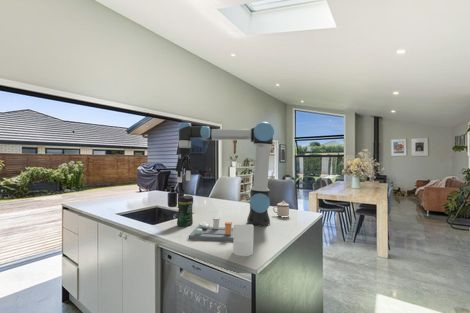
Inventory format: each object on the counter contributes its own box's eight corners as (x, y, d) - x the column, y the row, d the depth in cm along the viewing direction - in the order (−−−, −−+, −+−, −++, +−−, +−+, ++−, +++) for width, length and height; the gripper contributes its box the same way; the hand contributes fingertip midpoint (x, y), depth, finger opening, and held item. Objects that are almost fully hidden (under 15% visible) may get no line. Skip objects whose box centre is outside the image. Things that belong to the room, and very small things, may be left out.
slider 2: (231, 233, 127) (232, 222, 127) (231, 234, 123) (231, 223, 124) (225, 232, 127) (225, 221, 127) (224, 234, 124) (224, 223, 124)
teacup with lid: (289, 215, 182) (289, 200, 182) (288, 218, 173) (289, 202, 174) (273, 214, 185) (273, 199, 186) (272, 217, 177) (272, 201, 177)
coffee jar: (184, 227, 143) (185, 197, 144) (174, 225, 147) (175, 195, 148) (194, 224, 152) (195, 195, 152) (185, 222, 156) (186, 194, 156)
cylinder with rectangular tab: (234, 256, 102) (235, 228, 102) (231, 248, 111) (232, 223, 111) (255, 255, 103) (255, 227, 104) (250, 248, 112) (251, 222, 112)
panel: (237, 231, 138) (238, 223, 138) (234, 241, 120) (235, 233, 120) (197, 229, 141) (197, 222, 141) (188, 239, 123) (188, 230, 123)
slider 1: (219, 227, 137) (219, 217, 137) (218, 229, 133) (218, 218, 133) (213, 227, 137) (214, 217, 137) (212, 229, 134) (212, 218, 134)
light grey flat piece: (209, 225, 140) (210, 223, 140) (207, 228, 133) (207, 226, 133) (201, 223, 140) (201, 221, 140) (198, 226, 133) (198, 224, 133)
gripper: (186, 148, 162) (185, 179, 162) (170, 146, 138) (169, 183, 137) (197, 148, 161) (196, 180, 160) (182, 146, 136) (181, 183, 136)
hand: (184, 181), depth 149 cm, fingers open, 13 cm apart
